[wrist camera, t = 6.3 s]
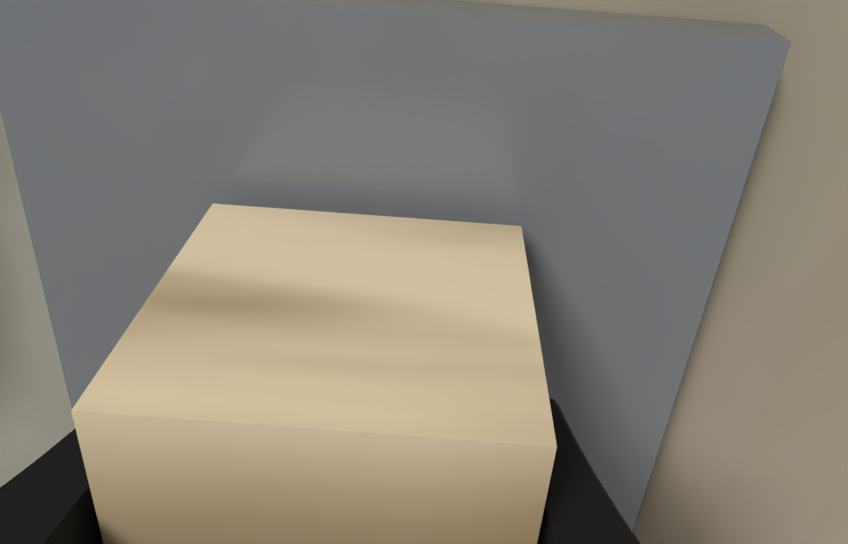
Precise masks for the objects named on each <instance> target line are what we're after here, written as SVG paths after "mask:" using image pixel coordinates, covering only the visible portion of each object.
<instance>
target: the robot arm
mask: <svg viewBox="0 0 848 544" xmlns="http://www.w3.org/2000/svg"><path fill="white" fill-rule="evenodd" d="M549 400H550V407H551V413H552V419H553V425H554V431H555V438H556V444H557V449H556V454H555V459H554V464H553V469H552V473H551V478H550V483H549V488H548V493H547V497H546V502H545V507H544V512H543V517H542V522H541V526H540V531H539V536H538V541H537V544H640V542H639V541H638V539H637V538H636V537H635V535H634V534H633V532H632V531H631V529H630V528H629V526H628V525H627V523H626V522H625V520H624V519H623V517H622V516H621V514H620V513H619V511H618V510H617V508H616V506H615V505H614V503H613V502H612V500H611V498H610V497H609V495H608V494H607V492H606V490H605V489H604V487H603V486H602V484H601V482H600V481H599V479H598V477H597V476H596V474H595V472H594V471H593V469H592V467H591V466H590V464H589V462H588V460H587V458H586V457H585V455H584V453H583V451H582V450H581V448H580V446H579V444H578V442H577V440H576V439H575V437H574V435H573V433H572V431H571V429H570V427H569V425H568V423H567V421H566V419H565V417H564V415H563V413H562V411H561V409H560V407H559V405H558V404H557V403H556V401H555V400H554V399H550V398H549ZM0 544H103V540H102V536H101V532H100V527H99V523H98V519H97V515H96V511H95V507H94V503H93V499H92V495H91V490H90V486H89V482H88V478H87V474H86V470H85V466H84V462H83V457H82V453H81V449H80V445H79V441H78V437H77V433H76V429H74V430H73V431H72V432H70V433H69V434H68V435H67V436H66V437H64V438H63V439H62V440H61V441H59V442H58V443H57V444H56V445H55V446H53V447H52V448H51V449H50V450H48V451H47V452H46V453H45V454H44V455H42V456H41V457H40V458H39V459H37V460H36V461H35V462H34V463H32V464H31V465H30V466H28V467H27V468H26V469H24V470H23V471H22V472H21V473H19V474H18V475H17V476H15V477H14V478H13V479H11V480H10V481H9V482H7V483H6V484H5V485H3V486H2V487H1V488H0Z"/></svg>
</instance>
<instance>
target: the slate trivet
mask: <svg viewBox="0 0 848 544" xmlns="http://www.w3.org/2000/svg"><path fill="white" fill-rule="evenodd" d="M790 43H791V41H789V40H788V39H786V38H785V37H783V36H781V35H780V34H778V33H777V32H775V31H774V30H772V29H770V28H769V27H767V26H761V25H749V24H736V23H724V22H712V21H699V20H687V19H674V18H662V17H650V16H637V15H625V14H612V13H600V12H588V11H575V10H563V9H550V8H538V7H526V6H513V5H501V4H488V3H476V2H464V1H451V0H0V110H1V114H2V118H3V123H4V127H5V131H6V135H7V139H8V143H9V148H10V152H11V156H12V160H13V164H14V168H15V173H16V177H17V181H18V185H19V189H20V193H21V198H22V202H23V206H24V210H25V214H26V218H27V223H28V227H29V231H30V235H31V239H32V243H33V248H34V252H35V256H36V260H37V264H38V268H39V273H40V277H41V281H42V285H43V289H44V293H45V298H46V302H47V306H48V310H49V314H50V318H51V323H52V327H53V331H54V335H55V339H56V343H57V348H58V352H59V356H60V360H61V364H62V368H63V373H64V377H65V381H66V385H67V389H68V393H69V398H70V402H71V406H72V409H73V407H74V406H75V404H76V403H77V401H78V400H79V398H80V397H81V395H82V394H83V392H84V391H85V390H86V388H87V387H88V385H89V384H90V382H91V381H92V379H93V378H94V376H95V375H96V373H97V372H98V371H99V369H100V368H101V366H102V365H103V363H104V362H105V360H106V359H107V357H108V356H109V354H110V353H111V352H112V350H113V349H114V347H115V346H116V344H117V343H118V341H119V340H120V338H121V337H122V335H123V334H124V333H125V331H126V330H127V328H128V327H129V325H130V324H131V322H132V321H133V319H134V318H135V316H136V315H137V314H138V312H139V311H140V309H141V308H142V306H143V305H144V303H145V302H146V300H147V299H148V297H149V296H150V295H151V293H152V292H153V290H154V289H155V287H156V286H157V284H158V283H159V281H160V280H161V278H162V277H163V276H164V274H165V273H166V271H167V270H168V268H169V267H170V265H171V264H172V262H173V261H174V259H175V258H176V257H177V255H178V254H179V252H180V251H181V249H182V248H183V246H184V245H185V243H186V242H187V240H188V239H189V238H190V236H191V235H192V233H193V232H194V230H195V229H196V227H197V226H198V224H199V223H200V221H201V220H202V219H203V217H204V216H205V214H206V213H207V211H208V210H209V208H210V207H211V205H212V204H226V205H240V206H254V207H267V208H281V209H295V210H308V211H322V212H336V213H349V214H363V215H377V216H391V217H404V218H418V219H432V220H445V221H459V222H473V223H486V224H500V225H514V226H521V227H522V234H523V240H524V246H525V252H526V258H527V264H528V271H529V277H530V283H531V289H532V295H533V302H534V308H535V314H536V320H537V326H538V332H539V339H540V345H541V351H542V357H543V363H544V370H545V376H546V382H547V388H548V394H549V398H550V399H554V400H555V401H556V403H557V404H558V405H559V407H560V409H561V411H562V413H563V415H564V417H565V419H566V421H567V423H568V425H569V427H570V429H571V431H572V433H573V435H574V437H575V439H576V440H577V442H578V444H579V446H580V448H581V450H582V451H583V453H584V455H585V457H586V458H587V460H588V462H589V464H590V466H591V467H592V469H593V471H594V472H595V474H596V476H597V477H598V479H599V481H600V482H601V484H602V486H603V487H604V489H605V490H606V492H607V494H608V495H609V497H610V498H611V500H612V502H613V503H614V505H615V506H616V508H617V510H618V511H619V513H620V514H621V516H622V517H623V519H624V520H625V522H626V523H627V525H628V526H629V528H630V529H631V531H633V528H634V525H635V522H636V519H637V516H638V513H639V510H640V507H641V504H642V501H643V497H644V494H645V491H646V488H647V485H648V482H649V479H650V476H651V473H652V470H653V467H654V463H655V460H656V457H657V454H658V451H659V448H660V445H661V442H662V439H663V436H664V433H665V429H666V426H667V423H668V420H669V417H670V414H671V411H672V408H673V405H674V402H675V399H676V395H677V392H678V389H679V386H680V383H681V380H682V377H683V374H684V371H685V368H686V365H687V361H688V358H689V355H690V352H691V349H692V346H693V343H694V340H695V337H696V334H697V331H698V327H699V324H700V321H701V318H702V315H703V312H704V309H705V306H706V303H707V300H708V297H709V293H710V290H711V287H712V284H713V281H714V278H715V275H716V272H717V269H718V266H719V263H720V259H721V256H722V253H723V250H724V247H725V244H726V241H727V238H728V235H729V232H730V229H731V225H732V222H733V219H734V216H735V213H736V210H737V207H738V204H739V201H740V198H741V195H742V191H743V188H744V185H745V182H746V179H747V176H748V173H749V170H750V167H751V164H752V161H753V158H754V154H755V151H756V148H757V145H758V142H759V139H760V136H761V133H762V130H763V127H764V124H765V120H766V117H767V114H768V111H769V108H770V105H771V102H772V99H773V96H774V93H775V90H776V86H777V83H778V80H779V77H780V74H781V71H782V68H783V65H784V62H785V59H786V56H787V52H788V49H789V46H790Z"/></svg>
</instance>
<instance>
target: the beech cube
mask: <svg viewBox="0 0 848 544" xmlns="http://www.w3.org/2000/svg"><path fill="white" fill-rule="evenodd" d="M71 412H72V416H73V420H74V425H75V429H76V433H77V437H78V441H79V445H80V449H81V453H82V457H83V462H84V466H85V470H86V474H87V478H88V482H89V486H90V490H91V495H92V499H93V503H94V507H95V511H96V515H97V519H98V523H99V527H100V532H101V536H102V540H103V544H537V541H538V536H539V531H540V526H541V522H542V517H543V512H544V507H545V502H546V497H547V493H548V488H549V483H550V478H551V473H552V469H553V464H554V459H555V454H556V449H557V444H556V438H555V431H554V425H553V419H552V413H551V407H550V400H549V394H548V388H547V382H546V376H545V370H544V363H543V357H542V351H541V345H540V339H539V332H538V326H537V320H536V314H535V308H534V302H533V295H532V289H531V283H530V277H529V271H528V264H527V258H526V252H525V246H524V240H523V234H522V227H521V226H514V225H500V224H486V223H473V222H459V221H445V220H432V219H418V218H404V217H391V216H377V215H363V214H349V213H336V212H322V211H308V210H295V209H281V208H267V207H254V206H240V205H226V204H212V205H211V207H210V208H209V210H208V211H207V213H206V214H205V216H204V217H203V219H202V220H201V221H200V223H199V224H198V226H197V227H196V229H195V230H194V232H193V233H192V235H191V236H190V238H189V239H188V240H187V242H186V243H185V245H184V246H183V248H182V249H181V251H180V252H179V254H178V255H177V257H176V258H175V259H174V261H173V262H172V264H171V265H170V267H169V268H168V270H167V271H166V273H165V274H164V276H163V277H162V278H161V280H160V281H159V283H158V284H157V286H156V287H155V289H154V290H153V292H152V293H151V295H150V296H149V297H148V299H147V300H146V302H145V303H144V305H143V306H142V308H141V309H140V311H139V312H138V314H137V315H136V316H135V318H134V319H133V321H132V322H131V324H130V325H129V327H128V328H127V330H126V331H125V333H124V334H123V335H122V337H121V338H120V340H119V341H118V343H117V344H116V346H115V347H114V349H113V350H112V352H111V353H110V354H109V356H108V357H107V359H106V360H105V362H104V363H103V365H102V366H101V368H100V369H99V371H98V372H97V373H96V375H95V376H94V378H93V379H92V381H91V382H90V384H89V385H88V387H87V388H86V390H85V391H84V392H83V394H82V395H81V397H80V398H79V400H78V401H77V403H76V404H75V406H74V407H73V409H72V410H71Z"/></svg>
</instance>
